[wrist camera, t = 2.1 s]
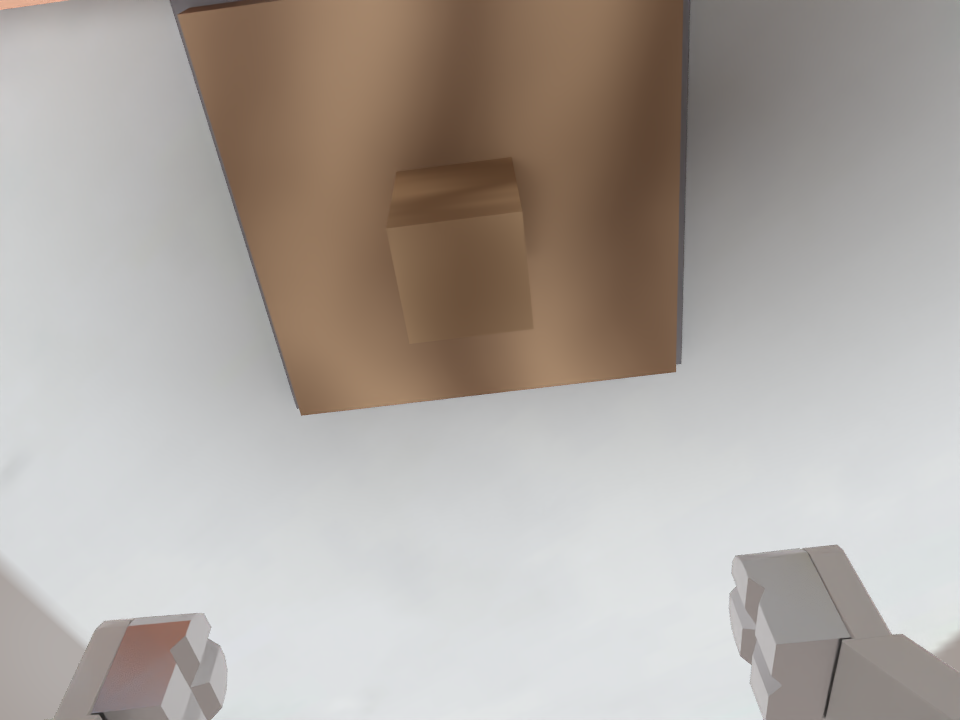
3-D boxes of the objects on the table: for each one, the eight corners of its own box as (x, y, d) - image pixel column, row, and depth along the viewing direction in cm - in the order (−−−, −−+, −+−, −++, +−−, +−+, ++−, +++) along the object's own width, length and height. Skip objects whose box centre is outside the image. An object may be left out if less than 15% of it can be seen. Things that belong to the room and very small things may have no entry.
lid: (673, -60, 22) (734, -37, 17) (668, 354, 30) (709, 448, 25) (189, 7, 22) (120, 47, 18) (306, 396, 30) (279, 496, 25)
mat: (687, -84, 22) (692, -83, 22) (678, 356, 30) (681, 363, 30) (172, -11, 23) (166, -9, 22) (299, 401, 31) (297, 408, 30)
